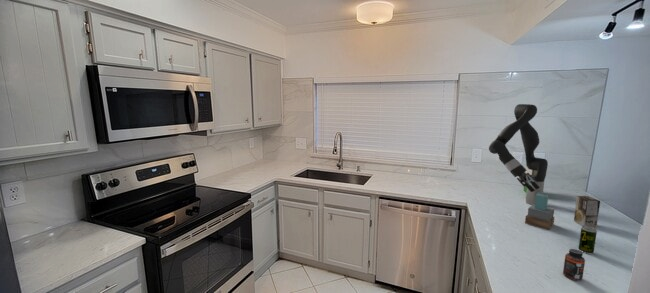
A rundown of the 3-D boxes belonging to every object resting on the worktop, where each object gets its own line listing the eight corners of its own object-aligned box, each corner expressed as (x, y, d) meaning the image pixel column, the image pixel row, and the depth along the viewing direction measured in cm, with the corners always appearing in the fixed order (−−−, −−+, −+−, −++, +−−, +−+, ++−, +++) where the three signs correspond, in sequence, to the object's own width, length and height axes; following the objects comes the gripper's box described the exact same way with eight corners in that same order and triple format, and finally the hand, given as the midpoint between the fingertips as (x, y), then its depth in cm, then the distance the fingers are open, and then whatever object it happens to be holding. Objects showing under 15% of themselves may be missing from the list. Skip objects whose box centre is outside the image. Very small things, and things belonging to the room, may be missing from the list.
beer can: (577, 247, 134) (581, 224, 132) (593, 250, 130) (596, 227, 129) (578, 251, 130) (581, 228, 128) (594, 255, 126) (597, 231, 125)
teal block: (536, 206, 163) (537, 193, 161) (546, 208, 159) (548, 195, 158) (534, 208, 159) (535, 195, 158) (545, 210, 156) (546, 197, 154)
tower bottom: (531, 219, 168) (531, 211, 167) (553, 225, 159) (554, 217, 159) (524, 223, 161) (525, 215, 161) (548, 230, 153) (549, 222, 152)
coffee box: (597, 228, 154) (601, 201, 152) (584, 227, 156) (587, 200, 153) (585, 221, 163) (589, 195, 161) (573, 220, 164) (576, 195, 162)
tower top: (532, 211, 167) (533, 204, 166) (553, 216, 159) (554, 208, 158) (527, 215, 161) (528, 207, 160) (548, 221, 153) (549, 213, 152)
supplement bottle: (582, 283, 107) (586, 256, 105) (562, 277, 111) (566, 251, 109) (582, 276, 111) (585, 250, 109) (562, 270, 115) (566, 245, 113)
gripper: (516, 165, 160) (537, 188, 153) (524, 162, 169) (545, 184, 161) (505, 172, 165) (525, 195, 158) (514, 169, 174) (533, 190, 166)
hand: (535, 189), depth 160 cm, fingers open, 8 cm apart
